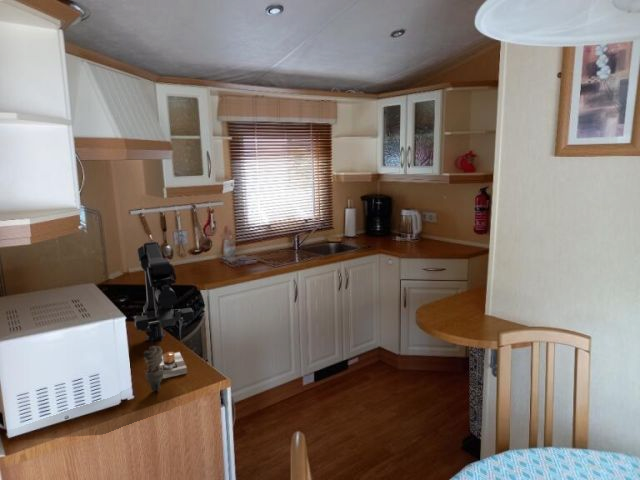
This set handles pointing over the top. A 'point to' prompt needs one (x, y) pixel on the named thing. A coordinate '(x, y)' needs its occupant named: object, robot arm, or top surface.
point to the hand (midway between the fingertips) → (167, 342)
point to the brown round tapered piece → (169, 360)
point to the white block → (178, 364)
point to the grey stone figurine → (154, 367)
